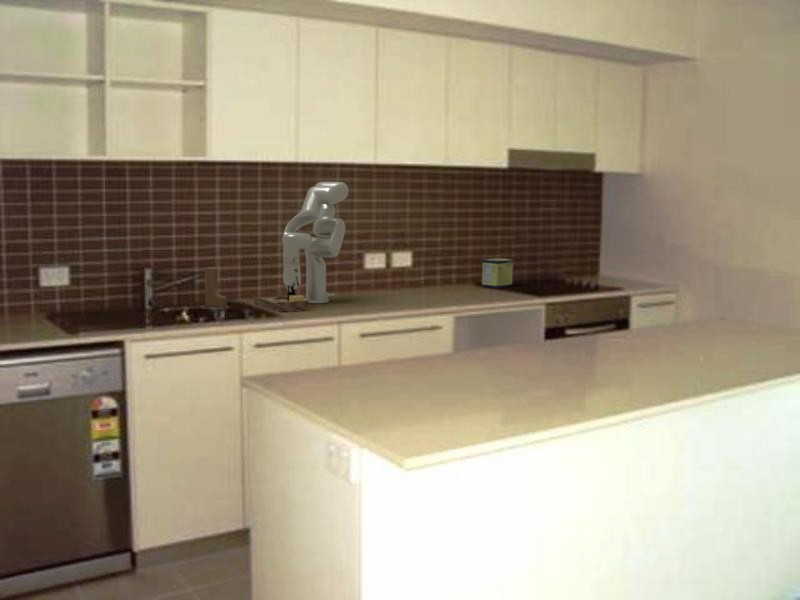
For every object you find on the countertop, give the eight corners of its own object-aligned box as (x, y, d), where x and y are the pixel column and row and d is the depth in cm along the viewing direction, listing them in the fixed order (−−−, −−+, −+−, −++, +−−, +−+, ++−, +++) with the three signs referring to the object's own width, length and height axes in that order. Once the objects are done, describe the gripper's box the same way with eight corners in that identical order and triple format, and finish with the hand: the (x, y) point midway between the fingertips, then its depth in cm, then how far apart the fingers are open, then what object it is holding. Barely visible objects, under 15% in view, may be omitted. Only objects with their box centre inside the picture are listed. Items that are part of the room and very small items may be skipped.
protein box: (512, 286, 501) (513, 259, 499) (496, 288, 490) (497, 260, 487) (497, 284, 508) (498, 257, 506) (481, 286, 497) (482, 259, 494)
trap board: (280, 301, 427) (280, 292, 426) (308, 310, 402) (308, 300, 402) (254, 303, 420) (254, 294, 419) (280, 312, 395) (280, 302, 394)
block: (298, 303, 407) (298, 294, 406) (303, 304, 403) (303, 296, 402) (289, 304, 404) (289, 295, 403) (294, 305, 400) (294, 296, 399)
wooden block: (226, 306, 411) (226, 267, 409) (223, 307, 407) (223, 268, 404) (208, 305, 412) (208, 267, 410) (205, 306, 408) (204, 268, 406)
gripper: (305, 262, 400) (305, 302, 402) (291, 259, 413) (291, 298, 415) (290, 262, 396) (290, 303, 399) (277, 259, 409) (277, 299, 411)
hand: (291, 300), depth 407 cm, fingers closed
